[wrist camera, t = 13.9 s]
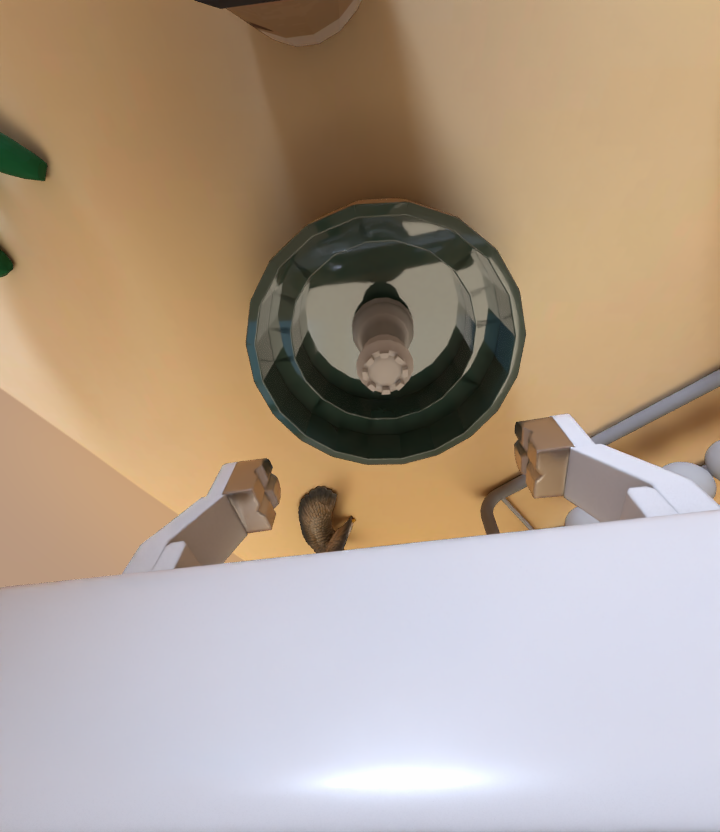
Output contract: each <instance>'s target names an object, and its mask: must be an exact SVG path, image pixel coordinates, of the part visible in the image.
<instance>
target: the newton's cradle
mask: <svg viewBox="0 0 720 832" xmlns="http://www.w3.org/2000/svg"><path fill="white" fill-rule="evenodd" d="M718 387H720V369H719V370H717V371H715V372H713V373H711V374H709V375H708V376H706V377H704V378H702V379H700V380H698V381H696V382H694V383H693V384H691V385H689V386H687V387H685V388H683V389H681V390H679V391H678V392H676V393H674V394H672V395H670V396H668V397H666V398H665V399H663V400H661V401H659V402H657V403H655V404H653V405H651V406H650V407H648V408H646V409H644V410H642V411H640V412H638V413H636V414H635V415H633V416H631V417H629V418H627V419H625V420H623V421H621V422H620V423H618V424H616V425H614V426H612V427H610V428H608V429H607V430H605V431H603V432H601V433H599V434H597V435H595V436H593V437H592V438H591V440H592V441H593V442H594V443H595V444H603V445H605V446H606V445H608V444H610V443H612V442H614V441H616V440H618V439H620V438H621V437H623V436H625V435H627V434H629V433H631V432H633V431H635V430H637V429H639V428H641V427H643V426H645V425H647V424H648V423H650V422H652V421H654V420H656V419H658V418H660V417H662V416H664V415H666V414H668V413H670V412H672V411H674V410H676V409H677V408H679V407H681V406H683V405H685V404H687V403H689V402H691V401H693V400H695V399H697V398H699V397H701V396H703V395H704V394H706V393H708V392H710V391H712V390H714V389H716V388H718ZM662 468H664V469H666V470H669V471H671V472H674V473H676V474H679V475H681V476H684V477H686V478H689V479H691V480H693V481H694V482H695V483H696V484H697V485H698V486H699V487H700V488H701V489H703V490H704V491H705V492H706V493H707V494H708V495H709V496H710V497H711V498H712V499H713V498H714V497H715V494H716V483H715V480H714V479H713V476H714V477H715V478H717V479H718V480H720V440H719V441H717V442H715V443H713V444H712V445H711V446H710V447H709V448H708V450H707V451H706V454H705V465H703V466H701V467H700V466H698V465H696V464H693V463H688V462H674V463H670V464H668V465H665V466H663V467H662ZM525 487H527V484H526V476H525V475H524V474H522V475H520V476H519V477H517V478H515V479H513V480H511V481H509V482H507V483H505V484H504V485H502V486H500V487H498V488H496V489H495V490H493V491H492V492H490V493H489V494H488V495H487V496H486V498H485V499H484V501H483V503H482V506H481V518H482V521H483V524H484V528H485V531H486V534H487V535H490V534H499V533H500V532H499V529H498V527H497V524H496V521H495V518H494V515H493V509H494V507H495V505H496V504H497V503H498V502H499V501H500V500H502V501H503V502H504V503H505V504H506V505H507V506H508V507H509V509H510V510H511V511H512V512H513V513H514V514H515V515H516V516H517V517H518V518H519V519H520V520H521V521H522V522H523V524H524V525H525V526H526V527H527V528H528V529H529V530H534V529H533V528H532V526H531V525H530V524H529V523H528V522H527V521H526V520H525V519H524V518H523V517H522V516H521V515H520V513H519V512H518V511H517V510H516V509H515V508H514V507H513V506H512V505H511V504H510V503H509V502H508V500H507V499H506V497H508V496H510V495H511V494H513V493H515V492H517V491H519V490H521V489H523V488H525ZM590 523H599V521H598V520H596V519H595V518H594V517H592V516H591V515H589V514H588V513H586V512H585V511H583V510H582V509H580V508H579V507H576V508H574V509H572V510H571V511H570V512H569V513H568V515H567V517H566V519H565V526H572V525H581V524H590Z"/></svg>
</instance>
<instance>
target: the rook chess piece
mask: <svg viewBox="0 0 720 832" xmlns="http://www.w3.org/2000/svg"><path fill="white" fill-rule="evenodd" d="M352 332H353V341H354V343H355V345H356V347H357V349H358V350H359V352H360V354H359V357H358V360H357V363H356V368H357V375H358V376H359V378H360V380H361V382H362V383H363V384H364V385H366V386H367V387H368V388H369V389H370V390H371V391H373V392H374V391H378V392H382V395H386V394H390V392H392V391H394V390H398V391H399V390H400V389H401V388H402V387H403V386H404V385H405V384H406V383H407V382H408V381H409V379H410V377H411V375H412V373H413V359H412V356H411V354H410V352H409V350H408V348H409V346H410V344H411V342H412V339H413V319H412V317H411V314H410V312H409V310H408V309H407V308H406V307H405V306H404V305H403V304H402V303H400V302H399V301H396V300H393V299H390V298H375V299H373V300H371V301H369V302H367V303H365V304H363V305H362V307H361V308H360V309H359V310H358V311H357V312H356V314H355V317H354V320H353V323H352Z"/></svg>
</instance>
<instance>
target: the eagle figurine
mask: <svg viewBox="0 0 720 832" xmlns="http://www.w3.org/2000/svg"><path fill="white" fill-rule="evenodd" d="M336 497H337V494H336V493H333V492H332V490H331V489H328V490H327V488H326V487H324V486H323V487H319V486H318V487H316V489H315V490H311V491H310V492H309V495H307V494H306V495H305V498H302V499H301V502H300V506H299V511H298V514H299V521H300V523H301V524H300V526H301V530H302V535H303V536H304V538H305V540H306V542H307V543H308V545H310V546H311V548H312V549H314V552H316V553H324V552H334V551H343V550H344V546H345V544H346V541H347V538H348V536H349V533H350V531H351V529H352V526H353V523H354V522H355V521H356V520H355V519H352V516H350V518H349V520H348V521H347V522H346V523H345V524H344V525H343V526H342V527H340V528H339V529H338V530H337V531H336V532H335V531H334V530H333V528H332V511H333V509H334V506H335V502H336Z"/></svg>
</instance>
